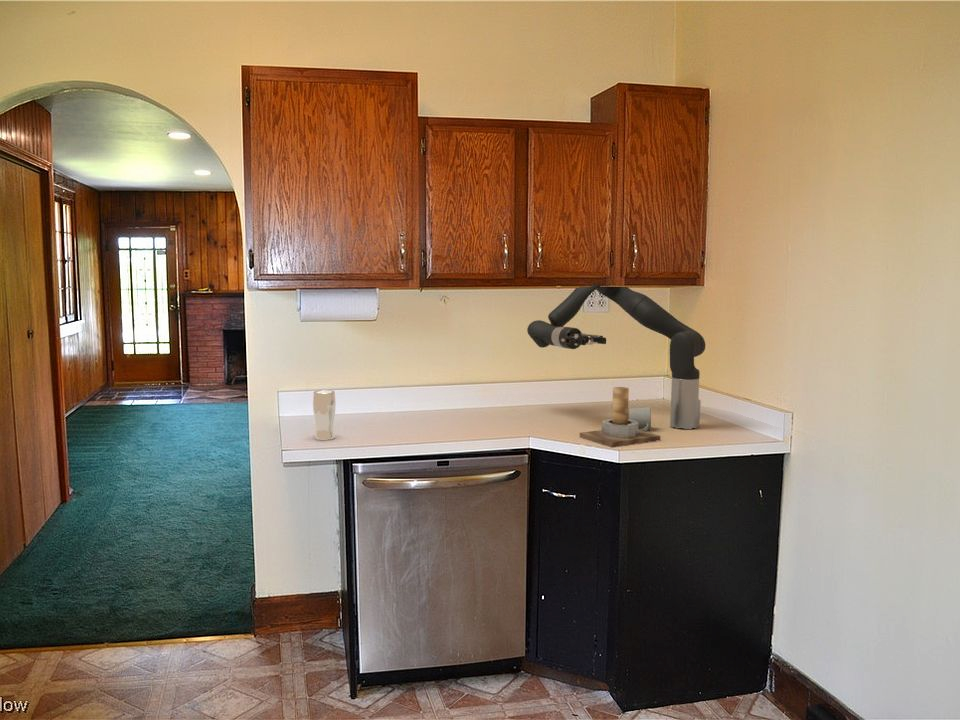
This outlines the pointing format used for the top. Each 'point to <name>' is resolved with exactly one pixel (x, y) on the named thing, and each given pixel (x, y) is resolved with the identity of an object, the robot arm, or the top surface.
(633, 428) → the steel sleeve
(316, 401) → the beer glass
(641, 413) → the ceramic mug
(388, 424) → the top surface
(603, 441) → the walnut board
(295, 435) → the top surface
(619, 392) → the oak peg
